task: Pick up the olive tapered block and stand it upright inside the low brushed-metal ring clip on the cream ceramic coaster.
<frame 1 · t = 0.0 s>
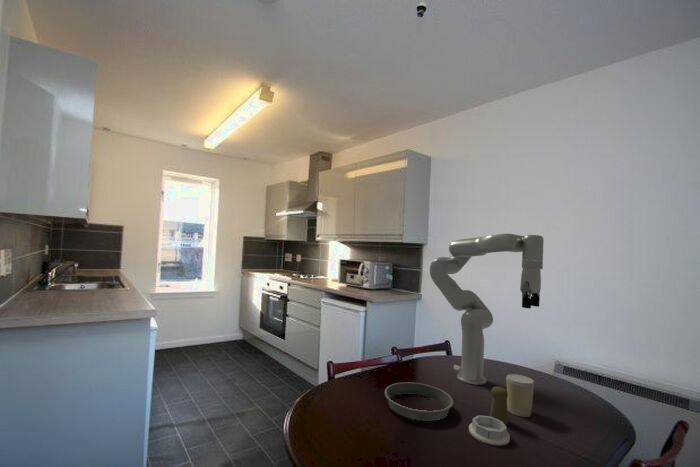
hand: (530, 307, 136), 37 cm above the table, tool pointing down, fingers open, 9 cm apart
olive tapered block: (498, 420, 115), on the table
ring holder: (488, 434, 106), on the table
cake pan: (417, 408, 122), on the table
cream upright cylinder: (519, 412, 123), on the table
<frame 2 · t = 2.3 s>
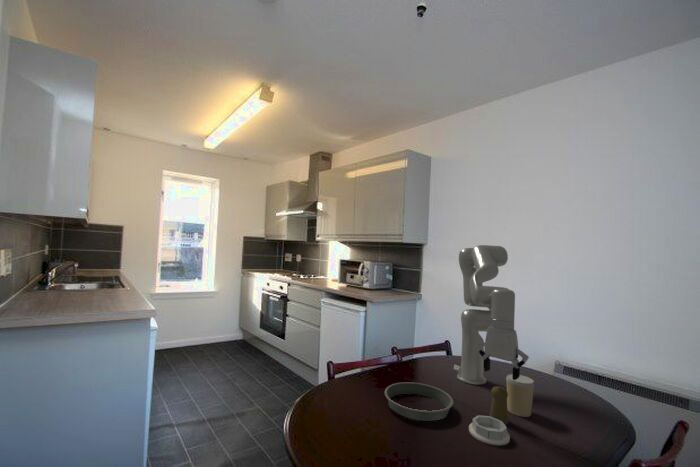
hand: (500, 374, 116), 16 cm above the table, tool pointing down, fingers open, 9 cm apart
nothing on the table moved.
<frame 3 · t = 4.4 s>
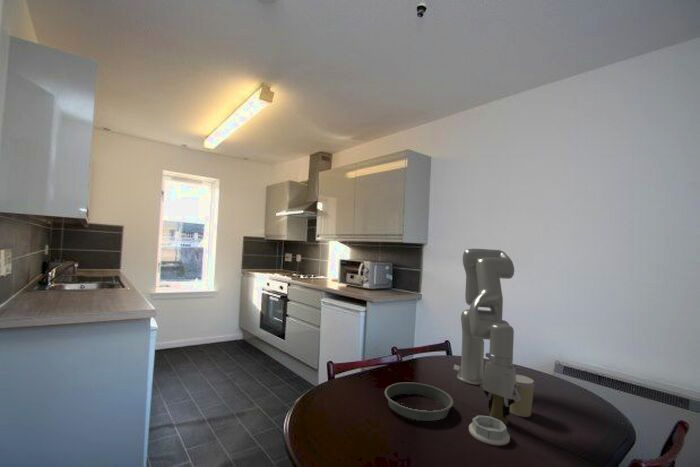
hand: (498, 413, 116), 2 cm above the table, tool pointing down, fingers closed on olive tapered block, 3 cm apart
olive tapered block: (498, 420, 115), on the table, touching gripper
everything else where it was.
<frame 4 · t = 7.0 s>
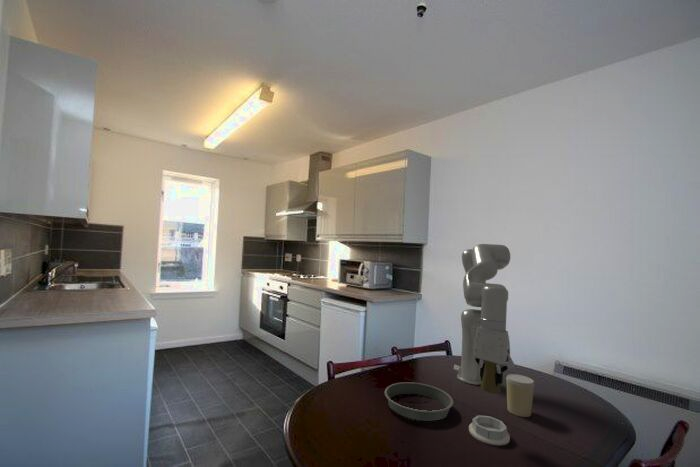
hand: (490, 382, 107), 16 cm above the table, tool pointing down, fingers closed on olive tapered block, 3 cm apart
olive tapered block: (490, 390, 107), point 14 cm above the table, touching gripper
everything else where it was.
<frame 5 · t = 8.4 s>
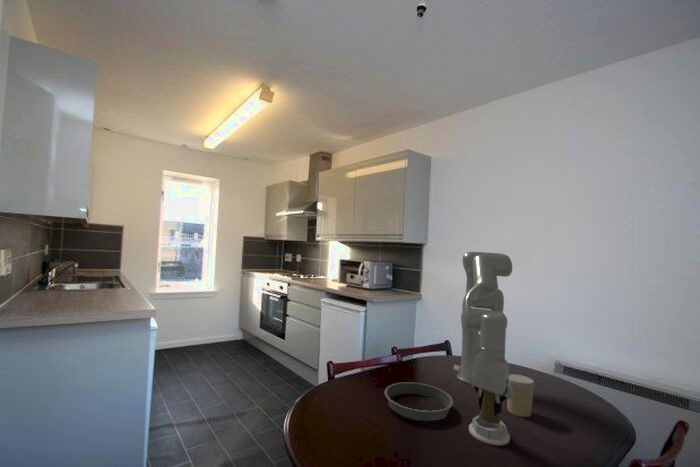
hand: (489, 411, 106), 7 cm above the table, tool pointing down, fingers closed on olive tapered block, 3 cm apart
olive tapered block: (489, 419, 106), point 5 cm above the table, touching gripper
everything else where it was.
when the fingers open (5 cm above the table, at t = 9.7 s): olive tapered block drops 1 cm, resting on ring holder.
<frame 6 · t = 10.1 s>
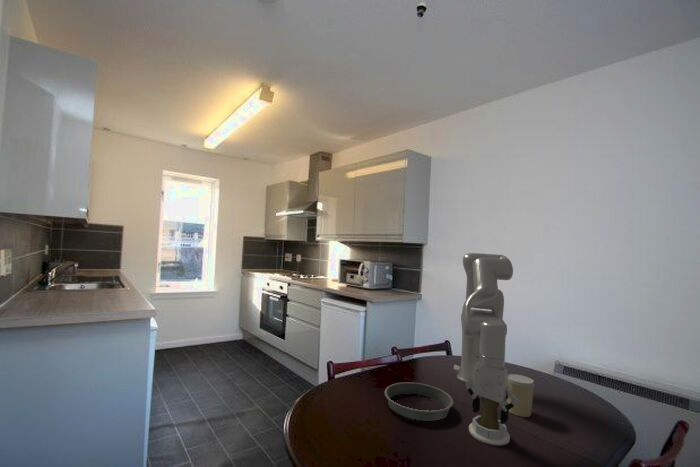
hand: (489, 416, 106), 6 cm above the table, tool pointing down, fingers open, 8 cm apart
olive tapered block: (488, 431, 106), point 1 cm above the table, touching ring holder
everything else where it was.
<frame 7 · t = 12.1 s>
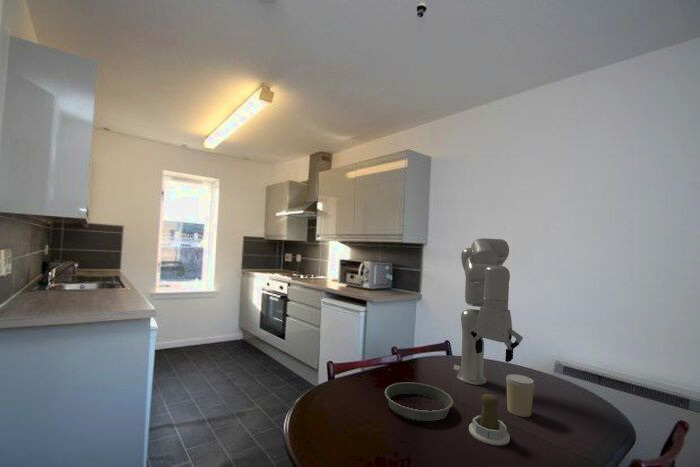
hand: (493, 356, 109), 24 cm above the table, tool pointing down, fingers open, 9 cm apart
nothing on the table moved.
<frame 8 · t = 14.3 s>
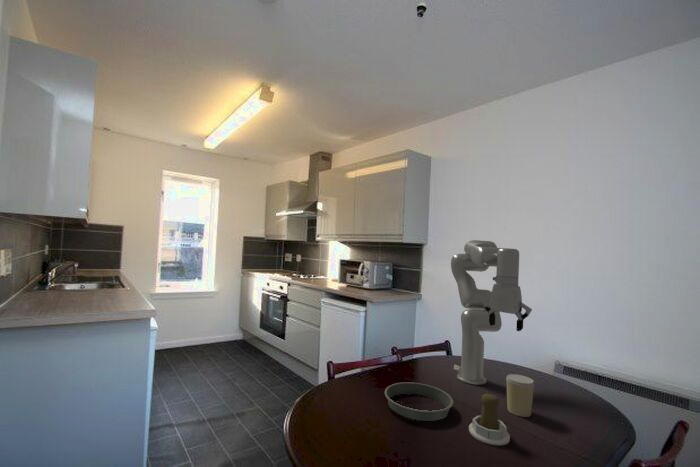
hand: (505, 327, 124), 30 cm above the table, tool pointing down, fingers open, 9 cm apart
nothing on the table moved.
at the end: olive tapered block 0.1 cm from the ring holder (horizontally); olive tapered block point 0.8 cm above the table; olive tapered block tilted 0° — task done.
